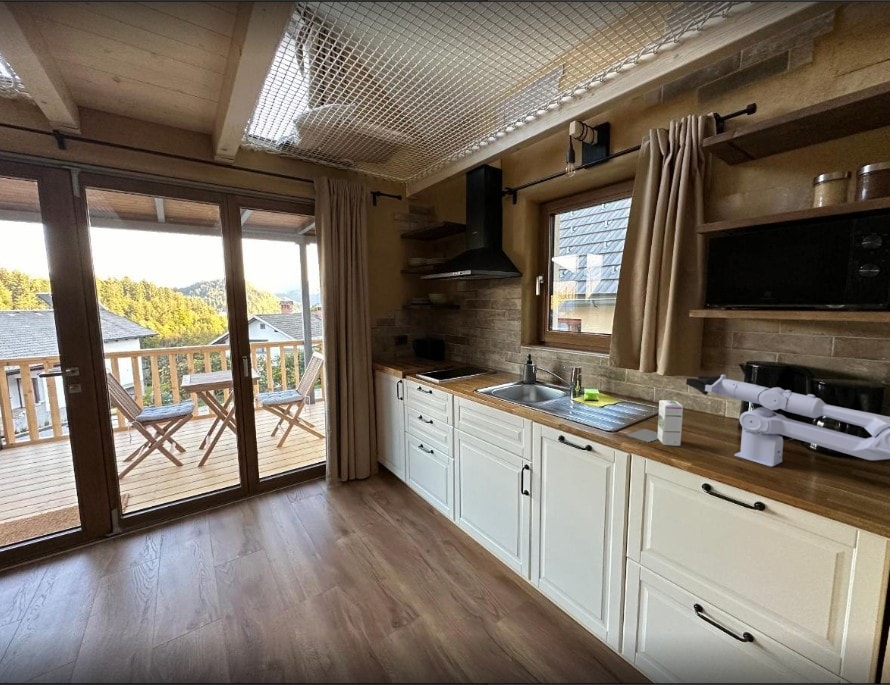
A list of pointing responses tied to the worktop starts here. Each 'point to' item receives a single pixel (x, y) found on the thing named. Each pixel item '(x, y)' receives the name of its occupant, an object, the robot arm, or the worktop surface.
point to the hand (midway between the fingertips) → (692, 380)
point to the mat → (644, 435)
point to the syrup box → (670, 422)
